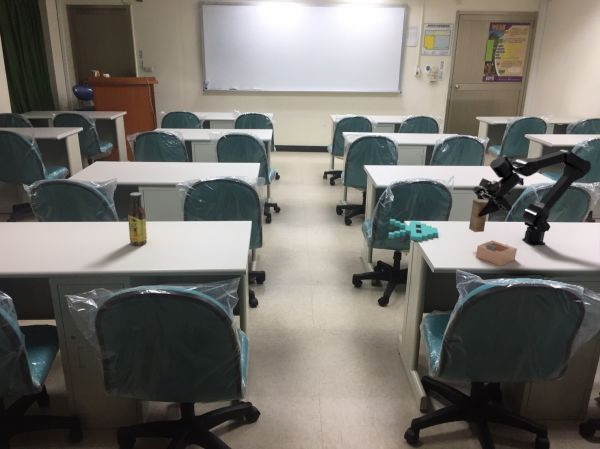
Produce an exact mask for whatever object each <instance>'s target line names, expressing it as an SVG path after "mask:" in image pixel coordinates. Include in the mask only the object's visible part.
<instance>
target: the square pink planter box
mask: <svg viewBox="0 0 600 449" xmlns="http://www.w3.org/2000/svg"><path fill="white" fill-rule="evenodd" d="M517 251H518V250H517V248H516V247H515V246H510V245H508V244H505V243H502V242H498V241H496V240H493V239H492V240H490V241H487V242H484V243H482V244H479V245H477V249H476V252H475V253H476V256H475V258H477V259H480V260H483V261H486V262H489V263H492V264H494V265H498V266H503V265H505V264H508V263H511V262H512V261H515V260H516V255H517Z"/></svg>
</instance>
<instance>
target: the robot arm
mask: <svg viewBox="0 0 600 449" xmlns="http://www.w3.org/2000/svg"><path fill="white" fill-rule="evenodd" d="M557 164H564V166H563V171H562V175H561V176H560V177H559V178H558V179H557V180H556V182H555V183H554V184H553V185H552V187H551V188H550V189H549V190H548V191H547V192H546V193H545V195H544V196H543V197H542V198H541V200H540V201H538V202H537V203H532V202H531V203H530V204H529V205H528V207H527V208H525V209H524V212H523V214H522V219H523V221H524V225H525V226H527V227H526V230H525V232H524V238H521V239H522V241H523V242H525V243H527V244H529V245H531V246H537V245H542V246H543V245H546V242H545V241H544V238H545V233H546V232H549V230H550V228H551V225H550V223H549V222H548V221H547V220H548V219H549V217H550V211H551V209H552V208H553V207H554V206H555V205H556V203H557V202H558V201H559V200H560V199H561V197H563V196H564V194H565V193H566V192H567V190H568V189H570V186H572V184H573V183H574V182H577V181H578V180H579V181H580V179H582V178H584V177H585V176H586V175H588V173H589V172H590V171H591V169H592V166H591V162H590V161H589V160H586V159H583V158H582V157H581V156H579V155H576V154H575V153H574V152H573V151H572V150H569V149H564V148H563V149H559V151H555V152H551V153H548V154H545V155H540V156H537V157H533V158H530V157H529V158H528V157H523V158H517V159H516V160H515V161H510V159H509V157H508V156H507V155H506V154H505V155H504V154H503V155H502V156H499V157H497V158H495V159H493V160H492V161H491V162H490V163H489V166H490V168H491V170H492V171H493V172H494V174H495V175H496V176H497V177H498V178H499V179H500V180H498V181H497V180H495V179H493V180H492V181H491V180H488V179H486V178H484V177H483V178H481V180H480V182H479V184H478V186H474V188H473V189H472V192H473V193H474V194H475V196H476V197H477V199H483V200H485V201H487V202H488V204H487V205H486V206H485V207H484V208H483V210H482V211H481V212H480V213H479V214H478V216H479V217H481V216H484V215H486V216H487V215H489V214H492V213H497V212H501V211H502V210H503V211H504V212H505V213H509V212H511V210H512V206H513V205H512V204H511V203H510V201H508V199H507V198H506V196H508V197H509V196H510V195H511V191H512V190H513V189H514V188H515V187H516V186H517V185H519V186H524V185H525V184H524V183H525V182H524V179H525V178H523V177H520V176H524V177H531V176H533V175H535V174H537V173H538V172H539V171H540V170H541V169H542V170H543V169H546V168H548V167H552V166H555V165H557Z"/></svg>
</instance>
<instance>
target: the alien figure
mask: <svg viewBox="0 0 600 449" xmlns="http://www.w3.org/2000/svg"><path fill="white" fill-rule="evenodd" d="M409 223H410V224H409V225H407V224H406V223H402V222H401V221H399V220H396V219H395V218H393V219H392V218H390V219H389V225H392V226H393V225H394V227H395V228H396V227H399V230H394V232H388V237H387V238H388V239H392V240H393V239H395V238H400V236H402V237H406V235H410V236H409V237H410V241H416V242H422V240H424V241H425V240H426V241H427V240H428V239H433V238H438V236H439V230H438V227H433V226H432V225H429V224H427V223H422V222H421V221H419V220H418V221H417V220H410V221H409Z"/></svg>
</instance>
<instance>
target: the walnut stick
mask: <svg viewBox="0 0 600 449" xmlns="http://www.w3.org/2000/svg"><path fill="white" fill-rule="evenodd" d="M487 204H488V200H487V201H485V200H483V199H476V198H475V199H473V200H472V206H471V214H470V219H469V226H468V227H469V228H468V229H469V230H470V231H472V232H473V233H482V232H484V231H485V227H486V226H485V225H486V220H487V215H484V216H481V217H479V216H478V214H479V213H480V212H481V211H482V210H483V208H484V207H485V206H486V205H487Z"/></svg>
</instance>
